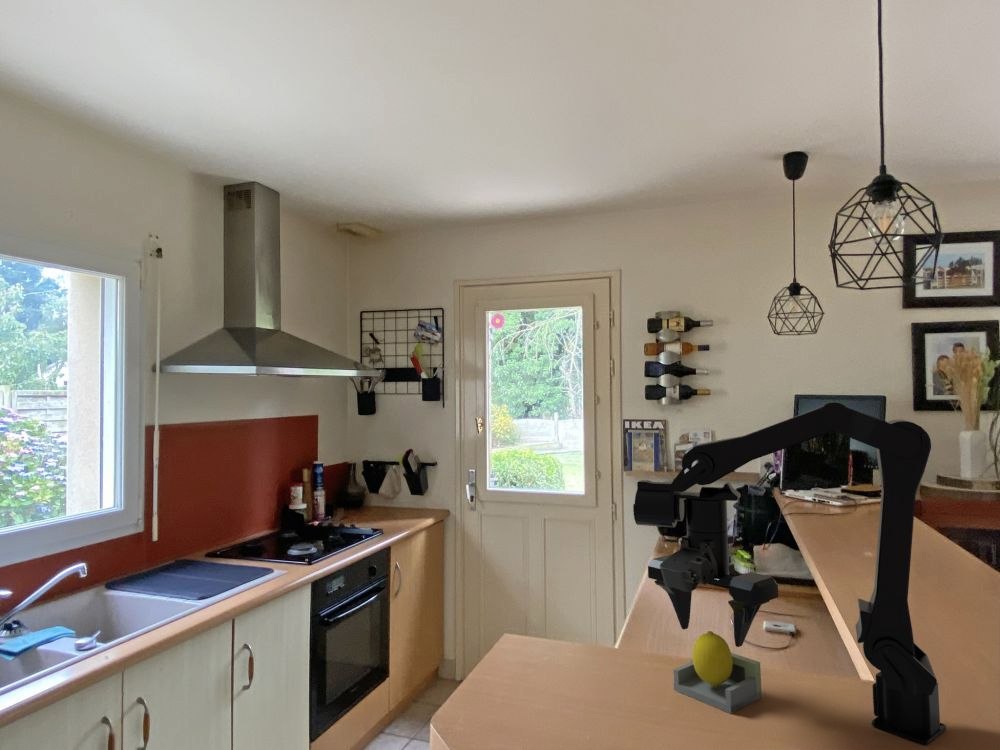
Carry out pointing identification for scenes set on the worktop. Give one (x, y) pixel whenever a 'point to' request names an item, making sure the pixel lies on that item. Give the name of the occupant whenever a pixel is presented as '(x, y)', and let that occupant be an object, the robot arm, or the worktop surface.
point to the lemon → (712, 659)
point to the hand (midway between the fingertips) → (710, 637)
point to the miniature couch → (723, 685)
